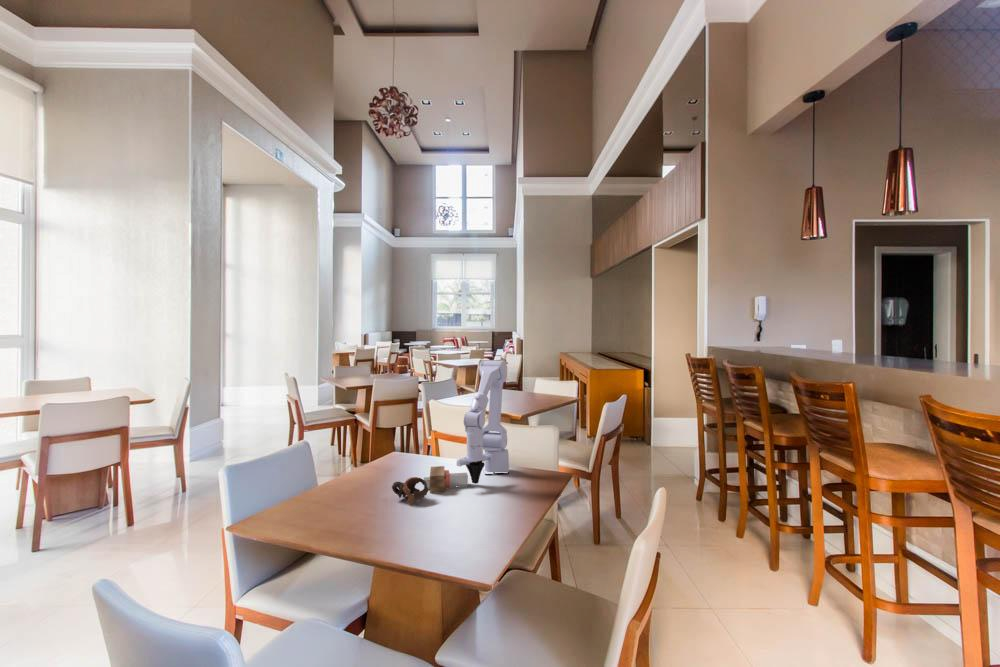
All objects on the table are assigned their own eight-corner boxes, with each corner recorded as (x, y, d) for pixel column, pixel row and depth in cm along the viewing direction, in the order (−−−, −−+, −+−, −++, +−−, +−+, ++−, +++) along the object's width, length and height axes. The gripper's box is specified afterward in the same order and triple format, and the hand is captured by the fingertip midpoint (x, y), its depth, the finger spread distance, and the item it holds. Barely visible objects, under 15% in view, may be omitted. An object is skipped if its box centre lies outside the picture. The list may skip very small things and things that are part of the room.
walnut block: (444, 481, 176) (444, 466, 176) (444, 492, 164) (444, 475, 164) (430, 482, 175) (430, 466, 175) (430, 493, 163) (429, 476, 163)
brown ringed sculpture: (427, 495, 163) (431, 477, 159) (421, 516, 154) (426, 498, 151) (392, 487, 162) (396, 469, 158) (385, 508, 153) (389, 490, 150)
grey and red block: (466, 482, 175) (466, 469, 175) (468, 487, 169) (468, 473, 169) (423, 485, 172) (423, 471, 172) (424, 490, 166) (423, 475, 166)
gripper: (484, 440, 179) (484, 476, 179) (451, 446, 170) (452, 484, 170) (495, 443, 173) (496, 480, 173) (462, 449, 164) (463, 489, 164)
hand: (475, 482), depth 171 cm, fingers closed
